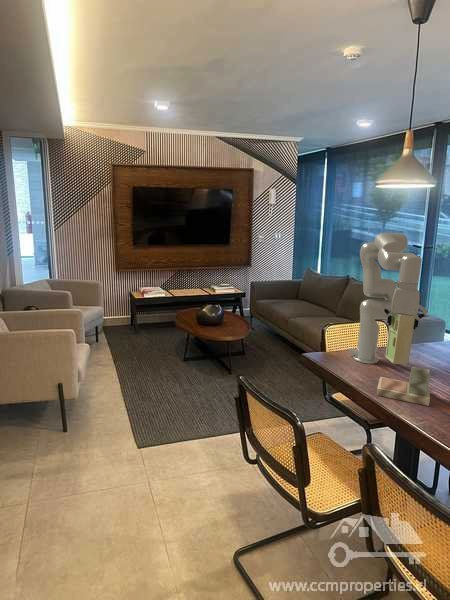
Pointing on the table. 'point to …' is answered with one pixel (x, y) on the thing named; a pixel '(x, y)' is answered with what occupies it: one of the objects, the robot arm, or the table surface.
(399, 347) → the toy refrigerator
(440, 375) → the table surface
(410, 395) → the board
